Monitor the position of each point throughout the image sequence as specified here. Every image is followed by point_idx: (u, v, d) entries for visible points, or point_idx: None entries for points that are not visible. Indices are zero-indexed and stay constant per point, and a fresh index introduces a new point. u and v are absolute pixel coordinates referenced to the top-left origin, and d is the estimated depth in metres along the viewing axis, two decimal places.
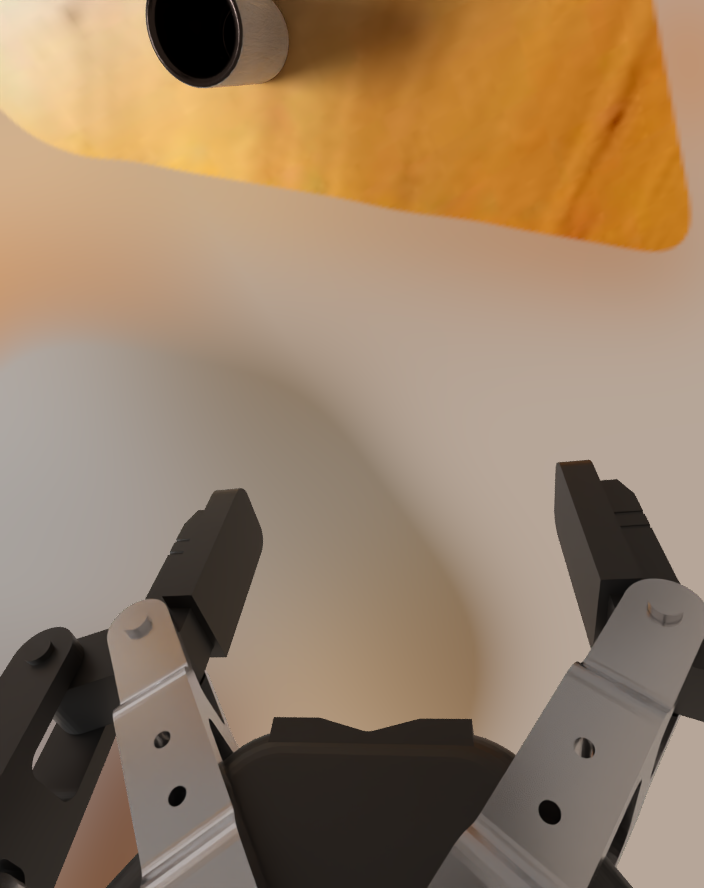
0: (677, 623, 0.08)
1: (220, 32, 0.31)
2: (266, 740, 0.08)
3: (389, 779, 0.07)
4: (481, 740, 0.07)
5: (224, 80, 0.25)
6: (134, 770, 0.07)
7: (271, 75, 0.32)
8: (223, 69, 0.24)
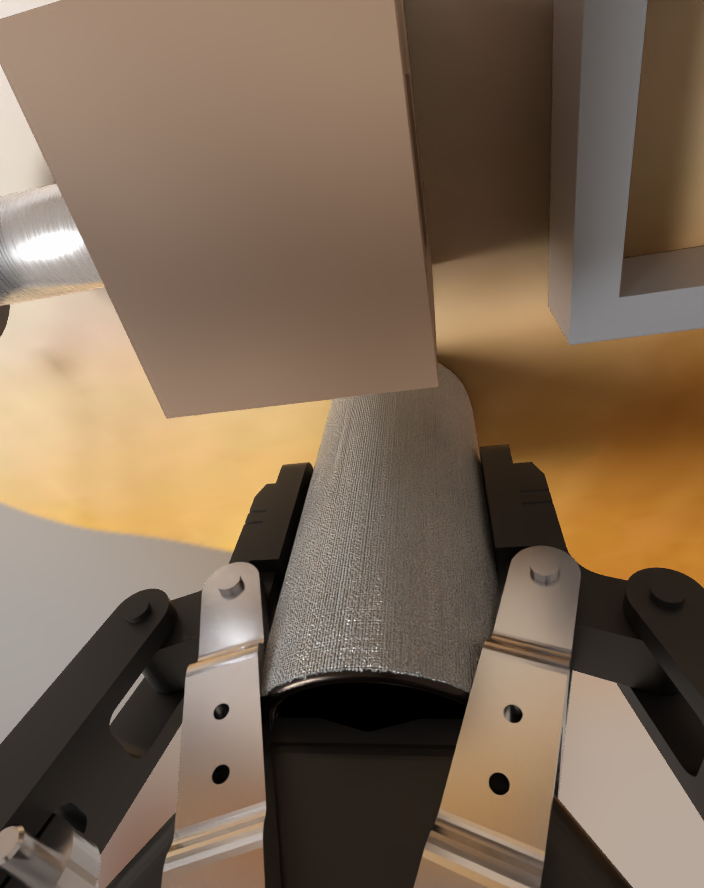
0: (551, 582, 0.09)
1: None
2: None
3: (389, 779, 0.07)
4: None
5: None
6: (191, 733, 0.08)
7: None
8: None
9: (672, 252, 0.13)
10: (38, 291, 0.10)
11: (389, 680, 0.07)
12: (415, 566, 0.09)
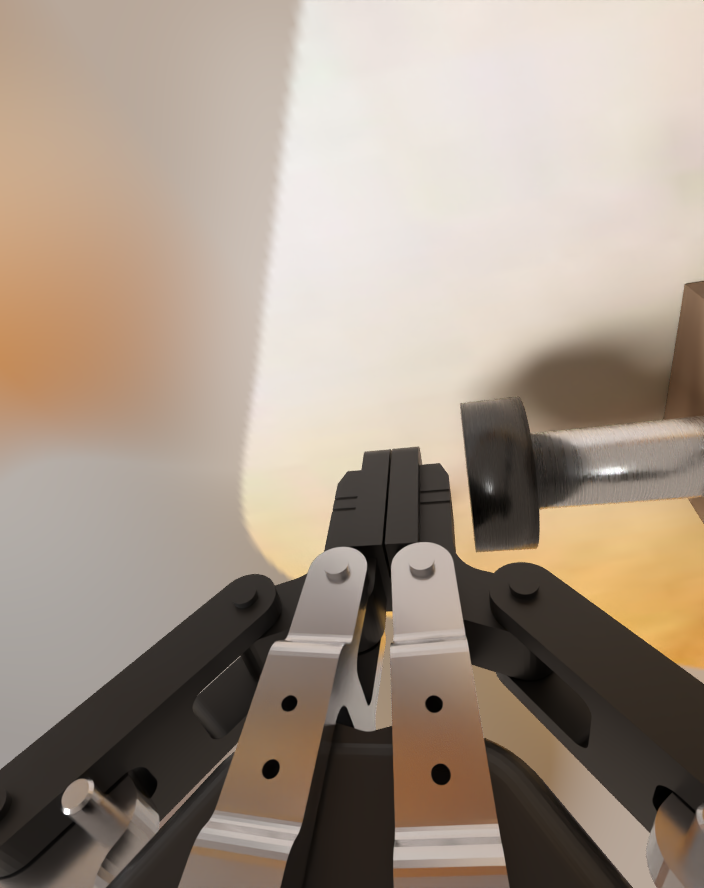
0: (424, 576, 0.10)
1: None
2: None
3: (389, 779, 0.07)
4: None
5: None
6: (257, 713, 0.08)
7: None
8: None
9: None
10: None
11: None
12: None
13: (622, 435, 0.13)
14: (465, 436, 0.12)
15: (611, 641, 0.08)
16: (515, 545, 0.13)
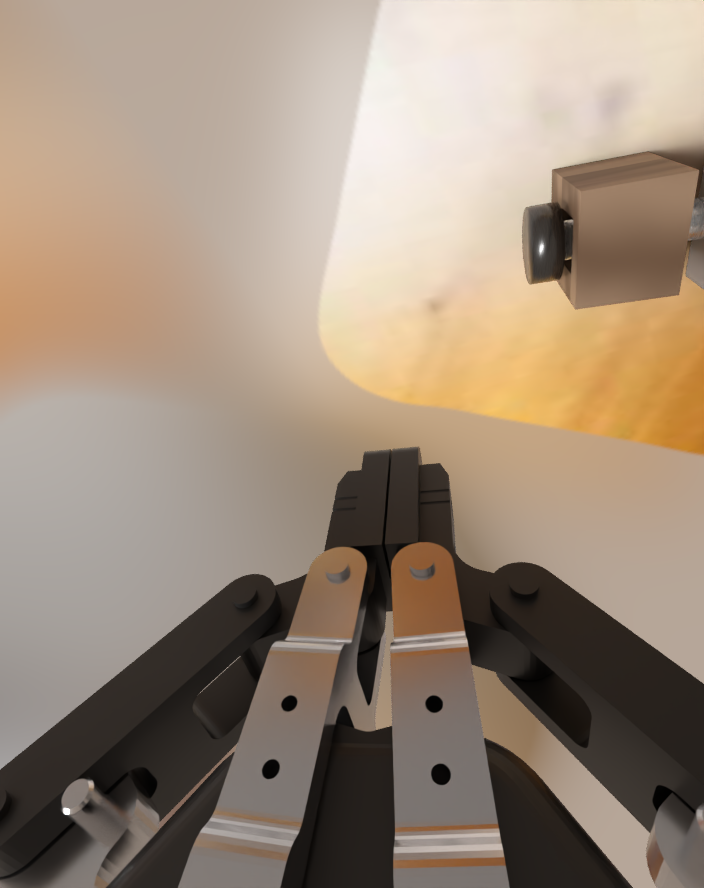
0: (424, 576, 0.10)
1: None
2: None
3: (389, 779, 0.07)
4: None
5: None
6: (257, 714, 0.08)
7: None
8: None
9: None
10: None
11: None
12: None
13: None
14: (530, 213, 0.27)
15: (611, 642, 0.08)
16: (553, 268, 0.27)
